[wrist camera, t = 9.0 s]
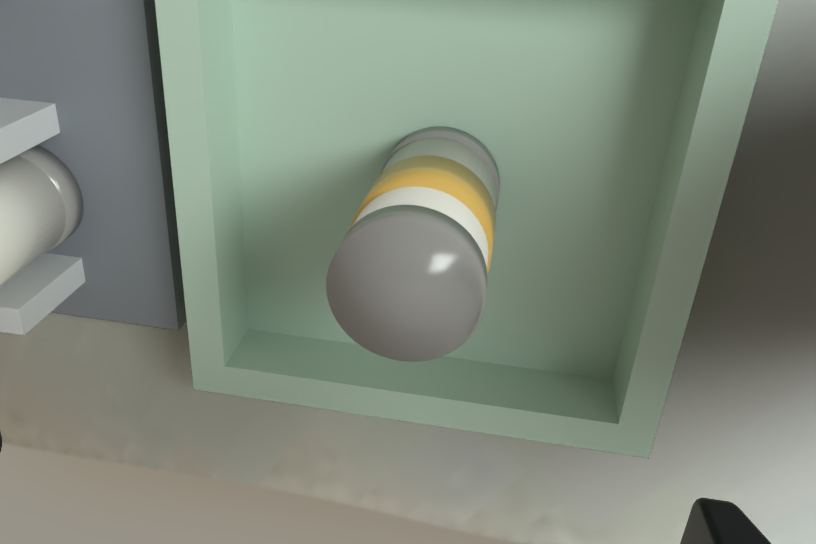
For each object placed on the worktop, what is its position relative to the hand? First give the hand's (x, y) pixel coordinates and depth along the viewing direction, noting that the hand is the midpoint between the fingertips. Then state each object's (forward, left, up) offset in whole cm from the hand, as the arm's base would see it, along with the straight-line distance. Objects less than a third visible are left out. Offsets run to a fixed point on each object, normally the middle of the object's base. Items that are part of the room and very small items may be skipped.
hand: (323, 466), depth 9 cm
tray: (0, 0, -12) cm, 12 cm away
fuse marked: (0, +1, -11) cm, 11 cm away
